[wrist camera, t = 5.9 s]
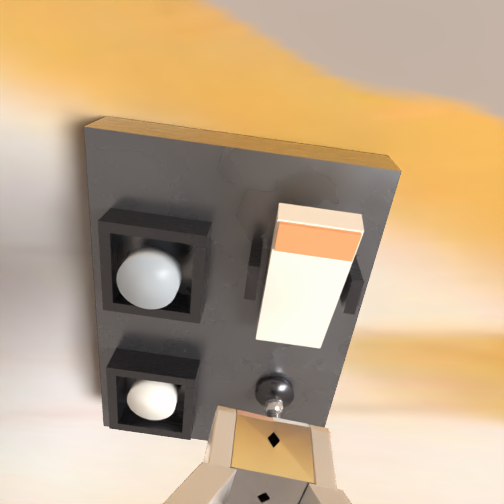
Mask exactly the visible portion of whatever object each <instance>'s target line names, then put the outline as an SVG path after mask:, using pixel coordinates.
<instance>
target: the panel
mask: <svg viewBox="0 0 504 504" xmlns="http://www.w3.org/2000/svg"><path fill="white" fill-rule="evenodd" d="M84 135H85V150H86V165H87V181H88V196H89V211H90V226H91V241H92V256H93V271H94V287H95V302H96V317H97V332H98V347H99V362H100V377H101V393H102V408H103V423H104V426H109V428H111V429H118V430H125V431H132V432H139V433H146V434H153V435H160V436H167V437H174V438H181V439H188V440H191V438H193V439H200V440H207V441H208V439H209V435H210V431H211V427H212V423H213V420H214V416H215V412H216V409H217V406H218V405H219V406H223V407H228V408H232V409H236V410H242V411H246V412H250V413H254V414H259V415H263V416H266V415H267V411H266V409H265V402H266V400H267V399H268V398H269V397H271V396H277V397H279V398H280V399H281V400H282V402H283V410H282V412H281V416H280V419H285V420H290V421H296V422H301V423H306V424H308V425H314V426H319V427H325V424H326V420H327V417H328V414H329V410H330V407H331V404H332V400H333V397H334V394H335V390H336V387H337V384H338V381H339V377H340V374H341V371H342V367H343V364H344V361H345V357H346V354H347V351H348V347H349V344H350V341H351V337H352V334H353V331H354V327H355V324H356V321H357V317H358V314H359V311H360V307H361V304H362V301H363V297H364V294H365V291H366V287H367V284H368V281H369V278H370V274H371V271H372V268H373V264H374V261H375V258H376V254H377V251H378V248H379V244H380V241H381V238H382V234H383V231H384V228H385V224H386V221H387V218H388V214H389V211H390V208H391V204H392V201H393V198H394V194H395V191H396V188H397V184H398V181H399V178H400V175H401V170H400V169H399V168H398V167H397V165H396V164H395V163H394V162H393V161H392V160H391V158H390V157H389V156H387V155H380V154H373V153H366V152H359V151H351V150H344V149H337V148H330V147H323V146H316V145H309V144H302V143H295V142H287V141H280V140H273V139H266V138H259V137H252V136H245V135H238V134H230V133H223V132H216V131H209V130H202V129H195V128H188V127H181V126H174V125H166V124H159V123H152V122H145V121H138V120H131V119H124V118H117V117H110V116H106V117H104V118H101V119H99V120H97V121H95V122H93V123H91V124H88V125H86V126H84ZM279 203H285V204H292V205H299V206H306V207H313V208H320V209H327V210H334V211H341V212H349V213H356V214H362V220H363V227H364V233H363V236H362V238H361V241H360V244H359V246H358V249H357V252H356V254H355V257H354V260H353V262H352V265H351V268H350V270H349V273H348V276H347V278H346V281H345V284H344V286H343V289H342V292H341V294H340V297H339V300H338V302H337V305H336V308H335V310H334V313H333V316H332V318H331V321H330V324H329V326H328V329H327V332H326V334H325V337H324V340H323V342H322V345H321V348H313V347H306V346H299V345H292V344H285V343H278V342H271V341H264V340H257V339H256V332H257V323H258V317H259V311H260V306H261V300H262V295H263V289H264V284H265V278H266V273H267V267H268V261H269V256H270V250H271V245H272V239H273V234H274V228H275V222H276V217H277V211H278V206H279ZM145 246H152V247H158V248H161V249H163V250H165V251H167V252H169V253H170V254H171V255H173V256H174V257H175V259H176V260H177V261H178V263H179V264H180V267H181V270H182V281H181V284H180V286H179V289H178V291H177V294H176V296H175V298H174V299H173V301H172V302H171V303H170V304H168V305H167V306H165V307H162V308H159V309H144V308H140V307H138V306H135V305H133V304H132V303H130V302H129V301H128V300H126V299H125V298H124V296H123V295H122V294H121V292H120V291H119V288H118V286H117V280H116V279H117V273H118V270H119V268H120V267H121V265H122V264H123V262H124V261H125V260H126V258H127V257H128V255H129V254H130V253H131V252H132V251H134V250H135V249H138V248H141V247H145ZM135 379H142V380H149V381H156V382H163V383H170V384H177V385H178V387H179V396H178V400H177V403H176V407H175V410H174V412H173V413H172V415H171V416H169V417H168V418H165V419H162V420H149V419H145V418H142V417H140V416H138V415H137V414H135V413H134V412H133V411H132V410H131V409H130V407H129V405H128V403H127V396H128V393H129V391H130V389H131V387H132V384H133V382H134V380H135Z"/></svg>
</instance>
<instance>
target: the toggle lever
mask: <svg viewBox="0 0 504 504" xmlns="http://www.w3.org/2000/svg"><path fill="white" fill-rule="evenodd" d="M265 409H266V411H267V415H266V416H267V417H271V418H272V417H275V418H280V416H281V412H282V410H283V402H282V400H281V399H280V398H279V397H277V396H271V397H269V398H268V399H267V400H266V402H265Z"/></svg>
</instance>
